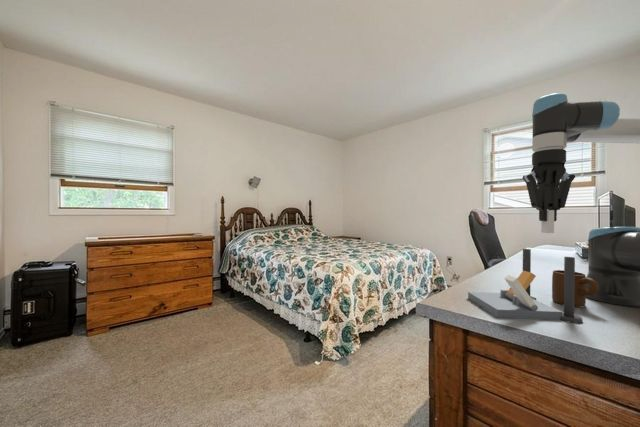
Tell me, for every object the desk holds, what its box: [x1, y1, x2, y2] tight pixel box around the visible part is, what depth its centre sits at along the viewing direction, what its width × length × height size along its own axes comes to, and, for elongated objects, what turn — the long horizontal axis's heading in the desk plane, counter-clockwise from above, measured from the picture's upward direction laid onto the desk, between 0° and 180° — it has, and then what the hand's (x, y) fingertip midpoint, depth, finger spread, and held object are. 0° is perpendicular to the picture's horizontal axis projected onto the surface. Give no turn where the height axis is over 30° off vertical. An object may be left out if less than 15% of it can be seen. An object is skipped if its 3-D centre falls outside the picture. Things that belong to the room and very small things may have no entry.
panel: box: [467, 289, 563, 321], centre depth 78 cm, size 16×16×4 cm
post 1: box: [522, 248, 537, 301], centre depth 86 cm, size 5×5×16 cm
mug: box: [551, 269, 599, 308], centre depth 80 cm, size 12×8×9 cm, turn 3°
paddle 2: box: [503, 275, 538, 311], centre depth 71 cm, size 2×4×9 cm
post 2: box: [559, 256, 583, 324], centre depth 70 cm, size 5×5×16 cm
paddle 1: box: [505, 269, 537, 300], centre depth 79 cm, size 2×4×9 cm
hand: (547, 232), depth 78 cm, fingers closed
